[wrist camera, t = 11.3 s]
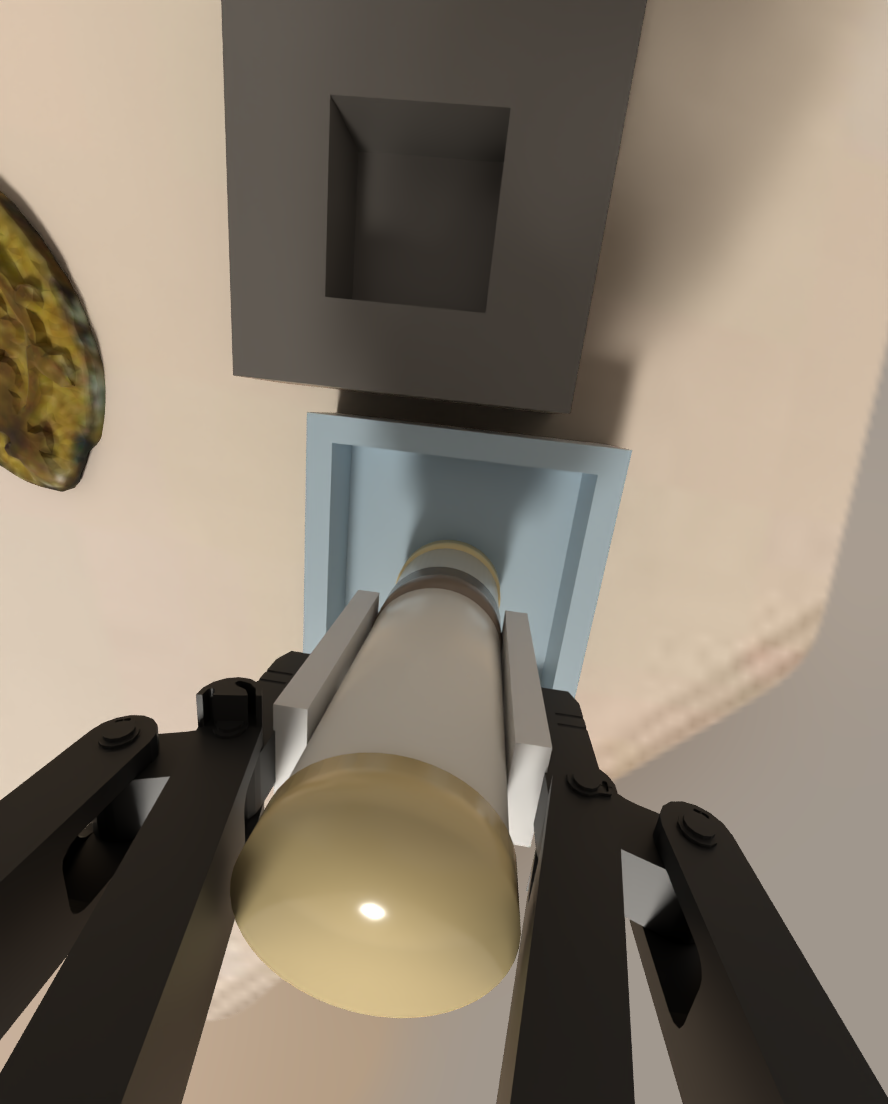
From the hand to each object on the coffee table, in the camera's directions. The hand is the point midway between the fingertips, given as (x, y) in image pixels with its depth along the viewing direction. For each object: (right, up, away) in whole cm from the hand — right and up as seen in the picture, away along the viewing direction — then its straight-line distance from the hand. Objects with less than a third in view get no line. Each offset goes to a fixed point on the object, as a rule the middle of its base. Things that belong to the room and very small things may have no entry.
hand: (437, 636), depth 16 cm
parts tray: (+1, +2, +6) cm, 6 cm away
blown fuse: (0, +1, +4) cm, 5 cm away
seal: (-20, +13, +5) cm, 25 cm away
